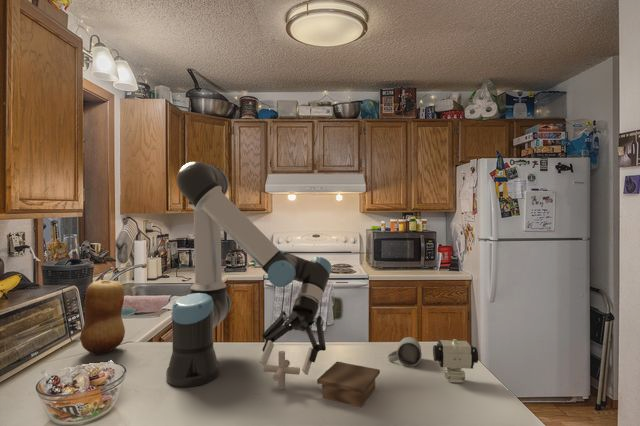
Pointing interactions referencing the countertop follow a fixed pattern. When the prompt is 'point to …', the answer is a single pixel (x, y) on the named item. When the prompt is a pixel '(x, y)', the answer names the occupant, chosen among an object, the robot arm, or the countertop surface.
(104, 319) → the butternut squash
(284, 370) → the pipe connector
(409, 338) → the ceramic mug
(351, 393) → the walnut stand
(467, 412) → the countertop surface
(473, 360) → the pneumatic valve
